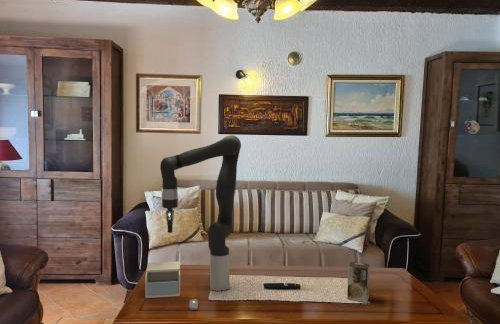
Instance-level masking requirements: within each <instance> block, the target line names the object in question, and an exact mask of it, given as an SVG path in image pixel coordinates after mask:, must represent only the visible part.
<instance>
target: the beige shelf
mask: <svg viewBox="0 0 500 324" xmlns="http://www.w3.org/2000/svg"><path fill="white" fill-rule="evenodd" d="M174 278H179V286H178V294H166V295H148V296H147V283H149V281H150V280H154V279H174ZM144 279H145V280H144V281H145V282H144V283H145V292H144V293H145V295H144V296H145V299H149V298H150V299H151V298H169V297H171V298H172V297H180V293H181V261H161V262H160V261H159V262H157V261H156V262H148V263H147V267H146V270H145V277H144Z"/></svg>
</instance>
